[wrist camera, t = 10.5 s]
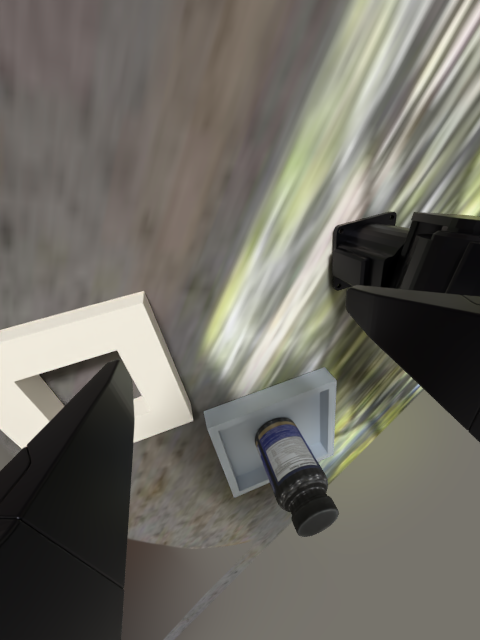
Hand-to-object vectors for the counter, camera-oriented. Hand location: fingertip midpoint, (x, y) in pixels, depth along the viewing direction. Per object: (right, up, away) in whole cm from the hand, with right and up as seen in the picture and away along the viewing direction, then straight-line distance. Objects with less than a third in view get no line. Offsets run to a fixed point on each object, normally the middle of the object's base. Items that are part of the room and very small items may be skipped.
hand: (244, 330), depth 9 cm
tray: (+4, -15, +25) cm, 29 cm away
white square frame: (-14, -5, +14) cm, 20 cm away
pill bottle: (+4, -15, +25) cm, 29 cm away
